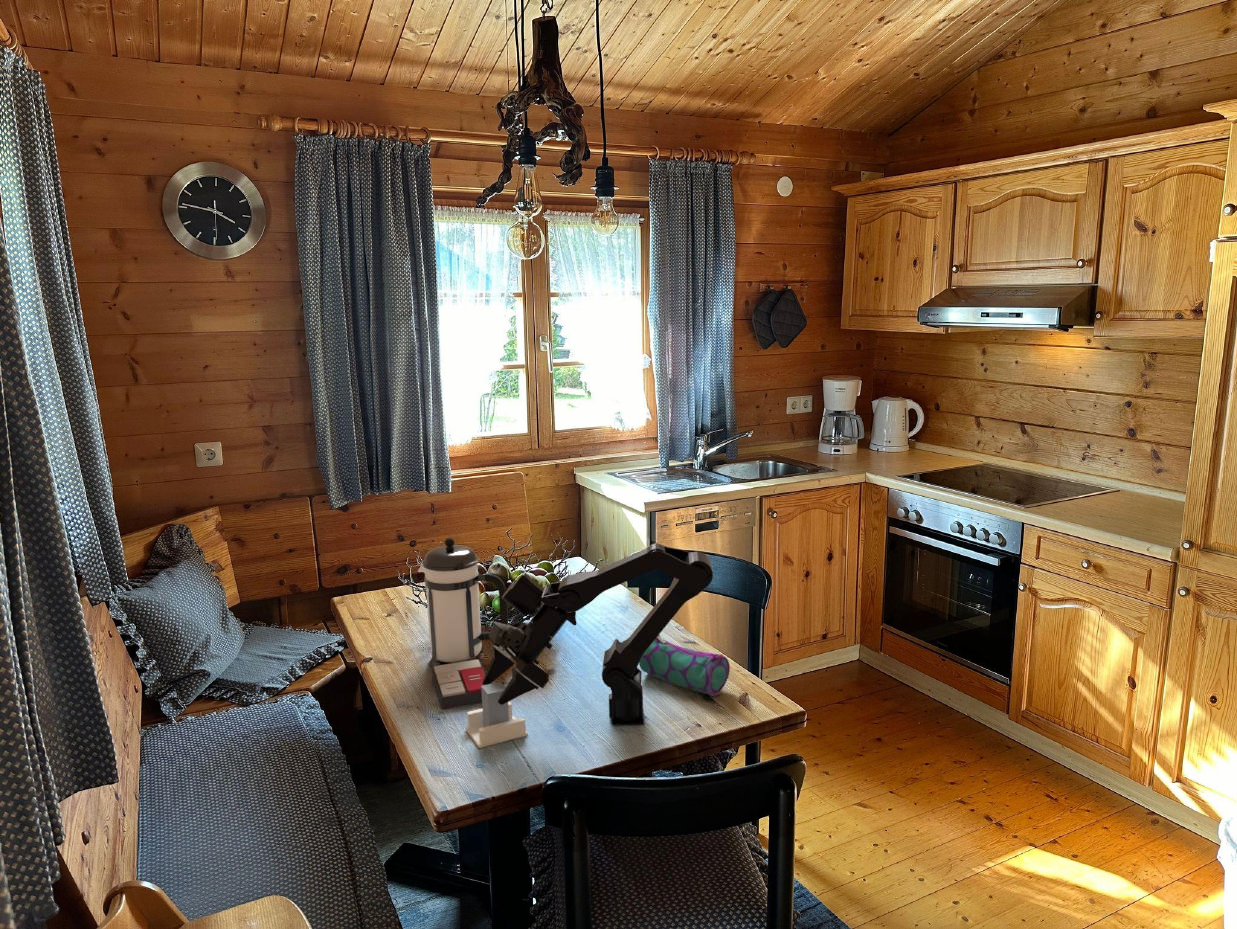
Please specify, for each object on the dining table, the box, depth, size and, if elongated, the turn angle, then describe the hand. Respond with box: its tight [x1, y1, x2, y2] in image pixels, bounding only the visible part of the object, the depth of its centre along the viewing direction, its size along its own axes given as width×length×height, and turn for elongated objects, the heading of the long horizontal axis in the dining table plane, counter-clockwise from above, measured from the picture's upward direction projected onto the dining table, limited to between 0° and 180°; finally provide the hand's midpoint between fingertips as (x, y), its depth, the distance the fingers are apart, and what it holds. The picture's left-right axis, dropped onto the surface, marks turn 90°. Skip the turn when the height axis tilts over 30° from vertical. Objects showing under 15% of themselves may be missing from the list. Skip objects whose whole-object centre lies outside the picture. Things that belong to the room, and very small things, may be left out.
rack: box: [465, 701, 529, 749], centre depth 173 cm, size 10×9×4 cm
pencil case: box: [638, 634, 731, 697], centre depth 193 cm, size 21×9×10 cm, turn 49°
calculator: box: [431, 658, 486, 710], centre depth 192 cm, size 11×4×15 cm
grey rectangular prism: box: [481, 681, 509, 727], centre depth 173 cm, size 4×4×9 cm
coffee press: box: [417, 537, 509, 669], centre depth 206 cm, size 17×16×30 cm
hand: (491, 694), depth 172 cm, fingers open, 9 cm apart
